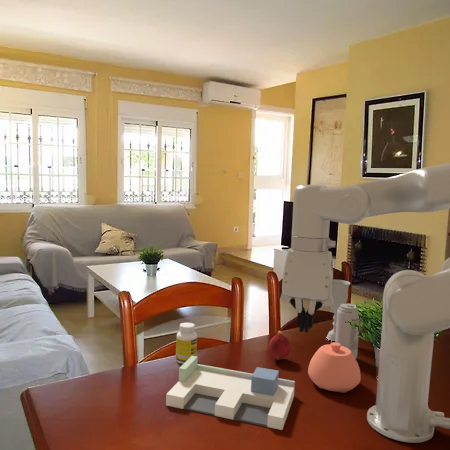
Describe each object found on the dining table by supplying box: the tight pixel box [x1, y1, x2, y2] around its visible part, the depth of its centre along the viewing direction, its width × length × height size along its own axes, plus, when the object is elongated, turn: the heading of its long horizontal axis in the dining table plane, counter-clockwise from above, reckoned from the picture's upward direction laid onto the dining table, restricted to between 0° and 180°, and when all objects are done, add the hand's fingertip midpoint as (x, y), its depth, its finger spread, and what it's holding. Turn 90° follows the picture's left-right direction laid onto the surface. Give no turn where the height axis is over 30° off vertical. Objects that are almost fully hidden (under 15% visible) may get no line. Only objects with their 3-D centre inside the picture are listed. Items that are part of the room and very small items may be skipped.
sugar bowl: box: [307, 342, 362, 394], centre depth 105 cm, size 12×14×10 cm
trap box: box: [165, 355, 296, 431], centre depth 95 cm, size 25×14×6 cm, turn 72°
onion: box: [268, 330, 292, 361], centre depth 117 cm, size 6×6×8 cm
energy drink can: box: [335, 302, 361, 360], centre depth 119 cm, size 6×6×15 cm
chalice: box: [325, 278, 351, 342], centre depth 134 cm, size 7×7×18 cm
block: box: [251, 366, 280, 396], centre depth 96 cm, size 5×5×4 cm
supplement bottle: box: [175, 322, 198, 365], centre depth 115 cm, size 5×5×10 cm
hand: (304, 330), depth 92 cm, fingers closed
